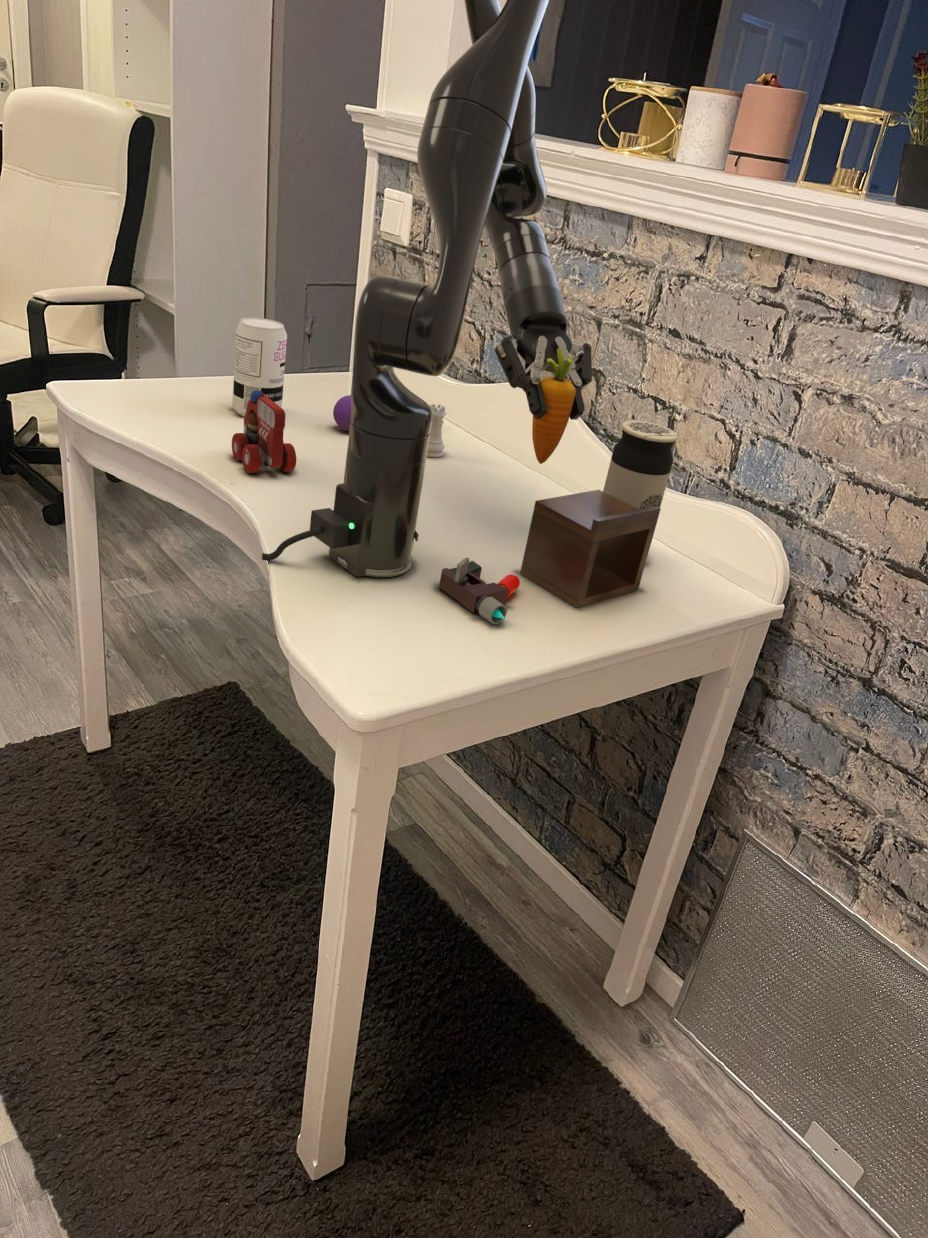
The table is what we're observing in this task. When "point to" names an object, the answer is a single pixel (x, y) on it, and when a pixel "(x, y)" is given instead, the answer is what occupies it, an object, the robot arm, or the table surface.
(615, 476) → the travel mug
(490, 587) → the toy gun
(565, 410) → the carrot
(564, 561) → the shelf
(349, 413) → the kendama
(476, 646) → the table surface
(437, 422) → the rook chess piece
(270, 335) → the supplement can
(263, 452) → the toy fire truck
